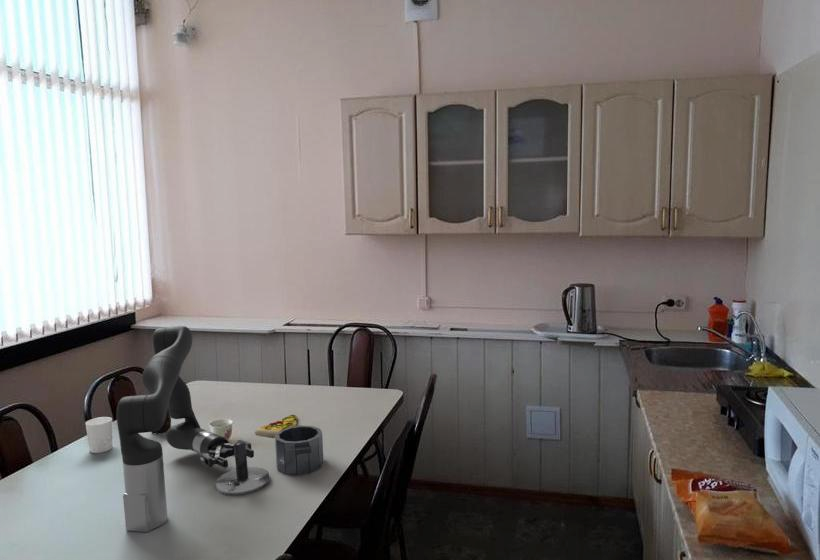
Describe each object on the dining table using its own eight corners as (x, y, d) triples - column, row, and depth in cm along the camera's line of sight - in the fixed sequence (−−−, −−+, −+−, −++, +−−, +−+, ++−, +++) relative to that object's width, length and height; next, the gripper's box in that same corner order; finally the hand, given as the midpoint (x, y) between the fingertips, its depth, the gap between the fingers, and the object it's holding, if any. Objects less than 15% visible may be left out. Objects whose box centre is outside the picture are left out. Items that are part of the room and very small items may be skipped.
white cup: (82, 451, 196) (80, 422, 195) (104, 443, 203) (102, 415, 202) (97, 455, 193) (95, 426, 191) (119, 447, 200) (117, 418, 198)
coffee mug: (164, 435, 209) (162, 408, 208) (143, 434, 211) (141, 407, 209) (183, 423, 220) (181, 398, 219) (162, 422, 222) (160, 397, 221)
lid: (257, 496, 162) (254, 454, 161) (206, 495, 164) (202, 454, 163) (276, 471, 177) (273, 433, 175) (229, 471, 179) (226, 433, 177)
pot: (328, 474, 175) (327, 442, 173) (280, 482, 170) (279, 449, 169) (317, 449, 193) (315, 420, 192) (273, 455, 189) (272, 426, 188)
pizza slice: (252, 437, 207) (251, 429, 206) (277, 417, 227) (277, 409, 226) (293, 439, 203) (292, 431, 203) (315, 419, 223) (315, 411, 223)
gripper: (187, 441, 175) (217, 454, 164) (230, 427, 186) (260, 439, 175) (189, 465, 176) (218, 480, 165) (231, 449, 187) (261, 463, 176)
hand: (240, 459), depth 170 cm, fingers open, 8 cm apart
